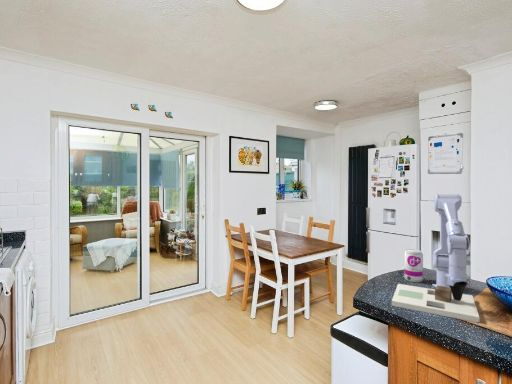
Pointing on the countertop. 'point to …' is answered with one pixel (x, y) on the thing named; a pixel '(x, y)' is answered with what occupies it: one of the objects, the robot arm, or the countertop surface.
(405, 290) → the board
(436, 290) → the walnut block
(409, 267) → the supplement can
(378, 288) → the countertop surface
